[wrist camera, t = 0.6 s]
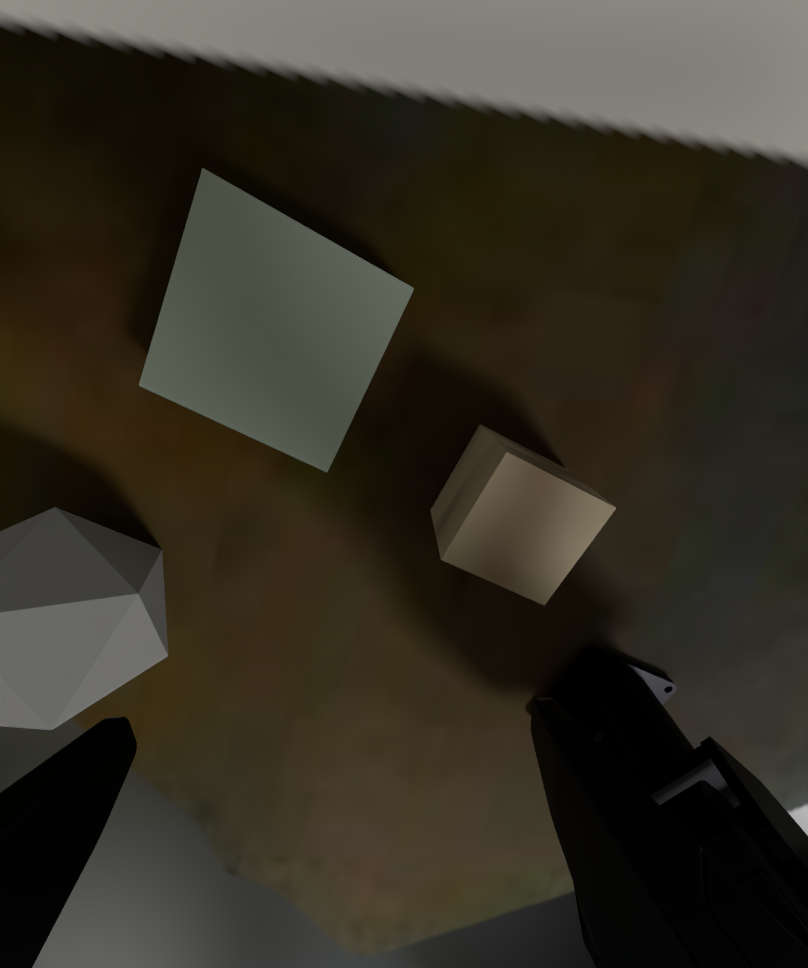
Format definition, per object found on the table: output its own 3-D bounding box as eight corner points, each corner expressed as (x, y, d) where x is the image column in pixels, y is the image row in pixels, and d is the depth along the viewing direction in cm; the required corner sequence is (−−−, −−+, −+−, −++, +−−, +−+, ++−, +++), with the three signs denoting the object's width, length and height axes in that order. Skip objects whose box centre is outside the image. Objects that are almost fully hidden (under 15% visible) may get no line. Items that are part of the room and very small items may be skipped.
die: (84, 448, 20) (-247, 579, 13) (205, 537, 17) (-143, 767, 10) (133, 557, 26) (-83, 691, 19) (231, 640, 23) (15, 834, 16)
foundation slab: (410, 295, 18) (414, 288, 15) (336, 453, 20) (327, 472, 18) (235, 196, 17) (202, 167, 14) (176, 378, 19) (138, 385, 16)
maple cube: (565, 468, 21) (616, 508, 16) (512, 547, 22) (544, 605, 17) (479, 423, 20) (506, 451, 15) (430, 509, 21) (440, 559, 16)
